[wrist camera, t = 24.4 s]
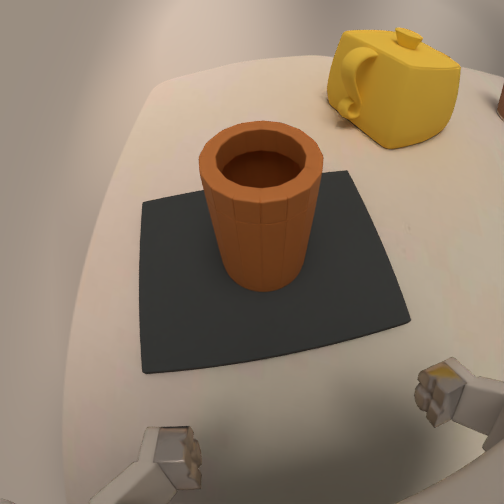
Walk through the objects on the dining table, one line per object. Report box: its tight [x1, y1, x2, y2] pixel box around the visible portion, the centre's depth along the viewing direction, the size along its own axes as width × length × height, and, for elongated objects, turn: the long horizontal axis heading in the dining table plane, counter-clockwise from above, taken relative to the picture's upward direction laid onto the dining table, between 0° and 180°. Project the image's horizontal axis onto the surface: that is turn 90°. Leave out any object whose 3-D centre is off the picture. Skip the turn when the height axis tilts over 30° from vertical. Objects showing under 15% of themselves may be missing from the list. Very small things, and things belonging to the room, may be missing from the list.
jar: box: [199, 121, 323, 292], centre depth 17 cm, size 6×6×9 cm
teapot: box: [327, 28, 461, 149], centre depth 25 cm, size 20×12×12 cm, turn 118°
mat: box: [139, 170, 411, 374], centre depth 21 cm, size 18×14×1 cm
